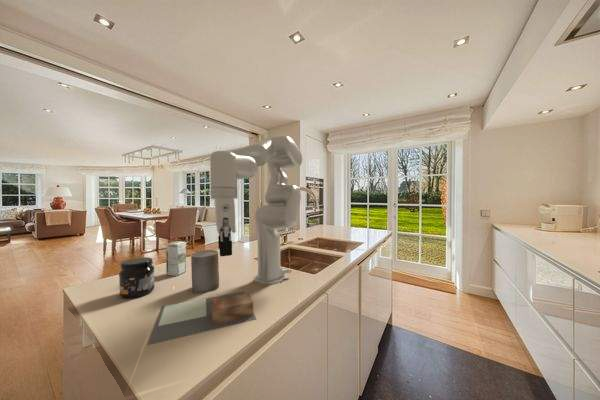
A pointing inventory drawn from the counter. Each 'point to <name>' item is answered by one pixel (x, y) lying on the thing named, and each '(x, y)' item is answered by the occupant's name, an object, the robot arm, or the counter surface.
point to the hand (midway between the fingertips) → (224, 251)
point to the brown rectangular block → (231, 308)
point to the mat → (189, 319)
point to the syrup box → (175, 258)
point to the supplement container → (136, 277)
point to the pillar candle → (205, 271)
